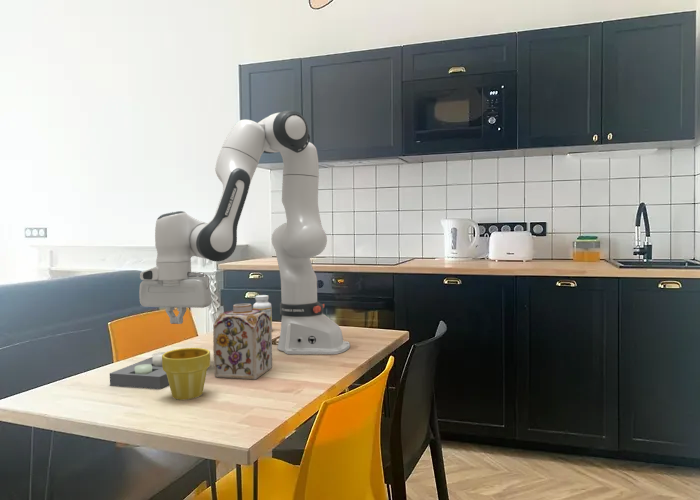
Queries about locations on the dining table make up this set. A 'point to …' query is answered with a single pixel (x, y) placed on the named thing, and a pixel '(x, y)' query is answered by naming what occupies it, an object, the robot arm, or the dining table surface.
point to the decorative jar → (242, 343)
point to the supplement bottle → (263, 305)
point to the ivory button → (157, 359)
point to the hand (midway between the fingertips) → (176, 323)
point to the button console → (140, 377)
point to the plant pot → (186, 371)
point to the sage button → (143, 369)
